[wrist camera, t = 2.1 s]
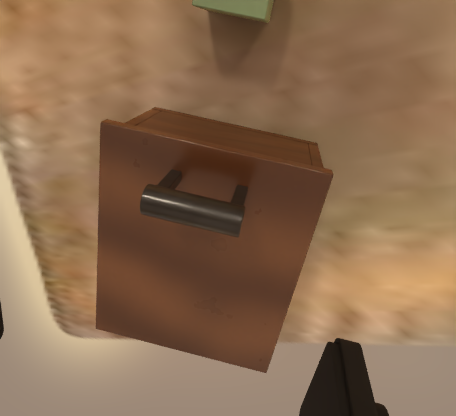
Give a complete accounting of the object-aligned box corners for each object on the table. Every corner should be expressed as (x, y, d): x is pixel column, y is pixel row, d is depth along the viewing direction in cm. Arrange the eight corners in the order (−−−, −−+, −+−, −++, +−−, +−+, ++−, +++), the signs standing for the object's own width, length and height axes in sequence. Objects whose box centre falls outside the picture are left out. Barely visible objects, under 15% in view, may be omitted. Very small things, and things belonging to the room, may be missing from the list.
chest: (154, 106, 30) (106, 131, 22) (317, 143, 29) (328, 182, 21) (141, 260, 37) (100, 321, 29) (271, 292, 36) (266, 364, 28)
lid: (106, 118, 21) (53, 142, 17) (332, 169, 21) (345, 210, 16) (100, 321, 29) (61, 378, 24) (266, 365, 28) (262, 433, 23)
